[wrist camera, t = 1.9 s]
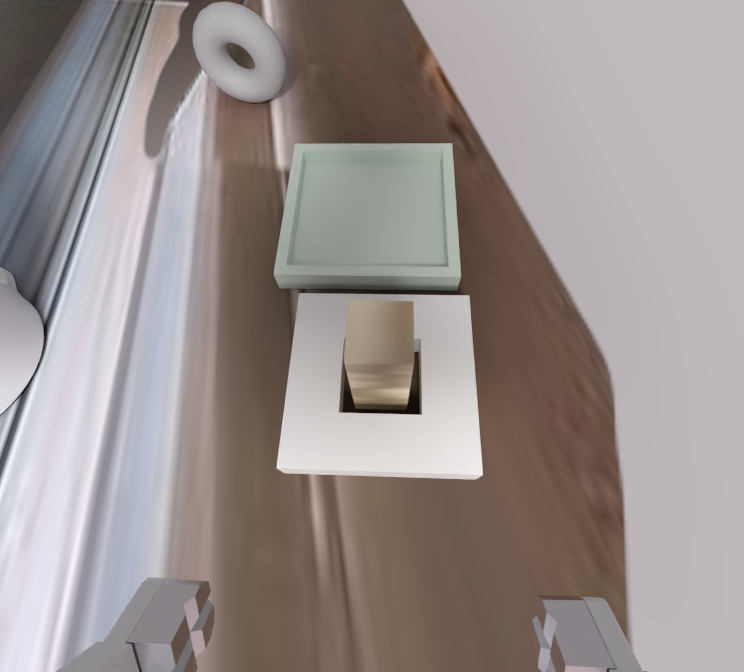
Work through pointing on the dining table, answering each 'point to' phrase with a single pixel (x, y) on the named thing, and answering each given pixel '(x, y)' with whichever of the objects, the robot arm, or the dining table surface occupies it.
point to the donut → (251, 34)
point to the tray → (370, 218)
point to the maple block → (379, 353)
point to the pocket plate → (382, 431)
